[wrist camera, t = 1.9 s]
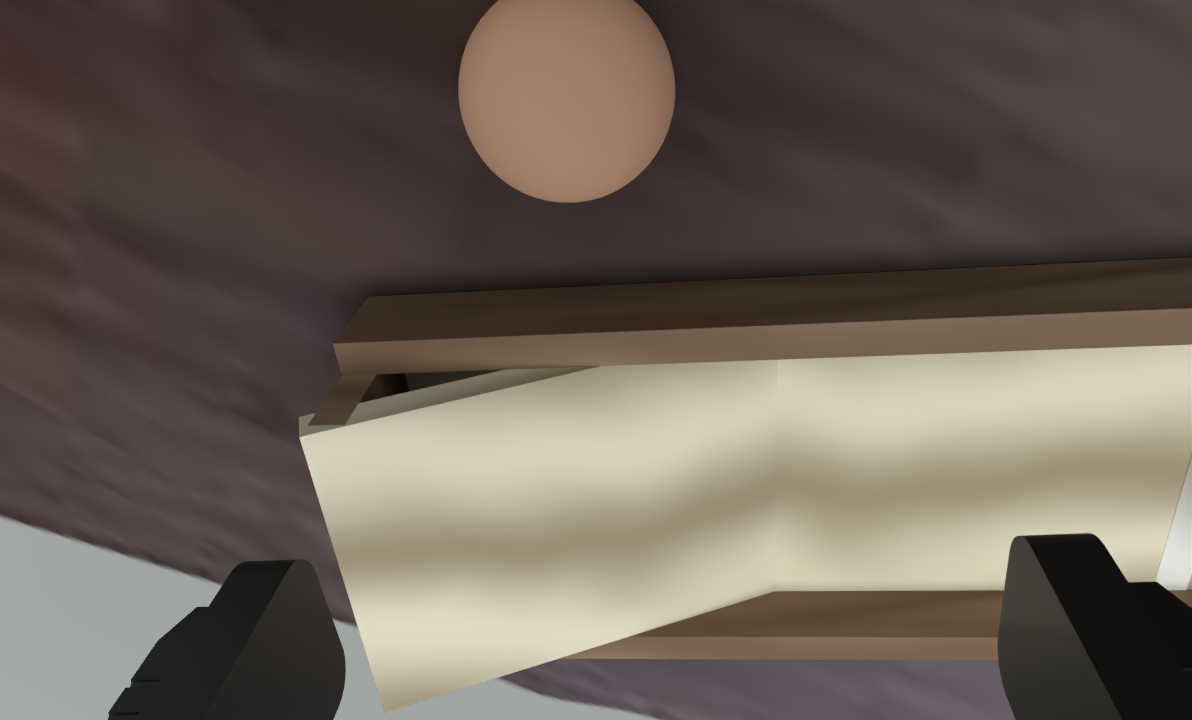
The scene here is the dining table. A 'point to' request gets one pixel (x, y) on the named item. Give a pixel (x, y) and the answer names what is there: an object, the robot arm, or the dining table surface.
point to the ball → (566, 95)
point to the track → (745, 462)
